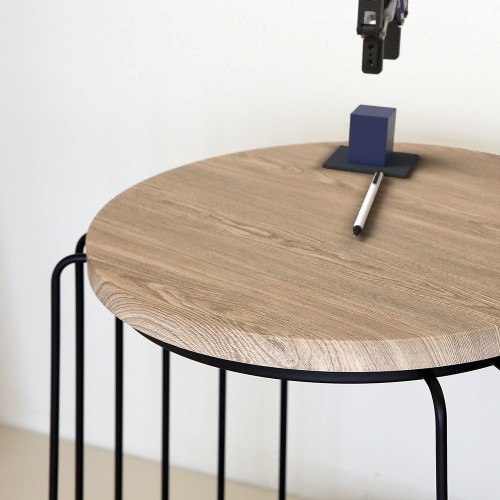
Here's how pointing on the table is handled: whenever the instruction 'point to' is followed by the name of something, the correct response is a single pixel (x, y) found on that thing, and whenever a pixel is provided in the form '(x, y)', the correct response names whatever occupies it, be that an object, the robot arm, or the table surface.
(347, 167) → the mat
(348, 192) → the table surface
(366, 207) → the pen
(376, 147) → the block
